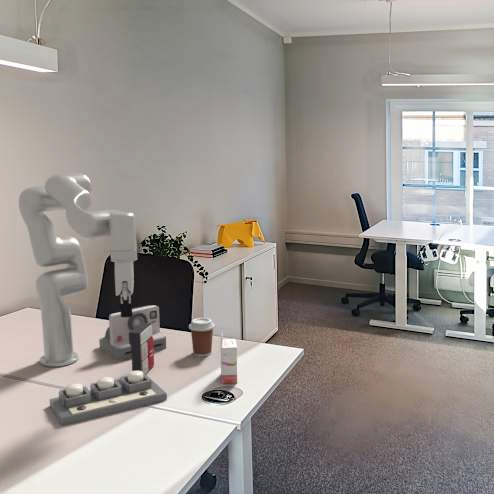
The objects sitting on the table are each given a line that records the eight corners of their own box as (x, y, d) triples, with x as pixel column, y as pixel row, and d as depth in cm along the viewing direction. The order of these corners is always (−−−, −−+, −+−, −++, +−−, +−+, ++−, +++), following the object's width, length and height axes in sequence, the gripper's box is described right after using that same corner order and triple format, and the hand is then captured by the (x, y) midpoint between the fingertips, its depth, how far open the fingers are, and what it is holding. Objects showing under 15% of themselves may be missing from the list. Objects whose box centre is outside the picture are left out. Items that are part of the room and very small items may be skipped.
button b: (95, 386, 173) (95, 379, 172) (111, 383, 175) (110, 375, 175) (100, 392, 169) (100, 384, 168) (116, 388, 171) (115, 381, 171)
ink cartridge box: (238, 383, 183) (237, 338, 181) (222, 384, 183) (221, 338, 180) (236, 372, 192) (235, 329, 189) (220, 373, 191) (219, 329, 189)
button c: (125, 380, 177) (125, 372, 177) (140, 377, 180) (139, 369, 179) (130, 385, 173) (130, 377, 173) (145, 382, 176) (145, 374, 175)
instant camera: (113, 362, 203) (110, 320, 200) (95, 345, 220) (93, 306, 218) (170, 351, 213) (169, 310, 210) (149, 335, 231) (148, 298, 228)
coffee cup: (186, 350, 213) (185, 318, 211) (210, 347, 216) (210, 315, 214) (193, 359, 204) (192, 325, 202) (218, 355, 207) (218, 322, 205)
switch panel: (49, 405, 169) (48, 390, 168) (148, 383, 184) (148, 369, 184) (62, 425, 157) (60, 409, 157) (166, 399, 172) (166, 385, 172)
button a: (64, 393, 168) (64, 385, 168) (80, 390, 170) (80, 382, 170) (68, 399, 164) (68, 391, 164) (85, 395, 167) (84, 387, 166)
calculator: (143, 378, 188) (141, 333, 185) (130, 377, 189) (128, 332, 186) (155, 365, 199) (153, 322, 196) (143, 365, 200) (141, 322, 197)
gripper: (111, 250, 179) (115, 305, 182) (109, 261, 163) (112, 321, 165) (137, 249, 181) (139, 303, 184) (137, 259, 164) (140, 319, 167)
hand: (126, 312), depth 174 cm, fingers open, 9 cm apart
